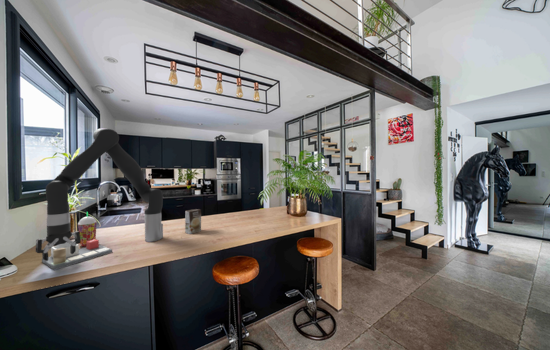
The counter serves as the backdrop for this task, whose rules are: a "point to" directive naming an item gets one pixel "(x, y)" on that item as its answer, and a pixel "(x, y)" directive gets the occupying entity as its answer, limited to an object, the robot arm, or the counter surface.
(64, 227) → the robot arm
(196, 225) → the coffee box
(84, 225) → the smoothie
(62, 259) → the tan block
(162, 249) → the counter surface
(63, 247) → the dome
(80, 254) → the game board
